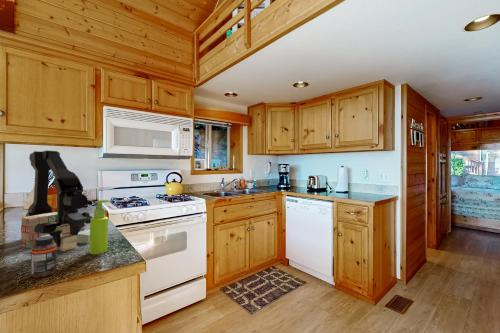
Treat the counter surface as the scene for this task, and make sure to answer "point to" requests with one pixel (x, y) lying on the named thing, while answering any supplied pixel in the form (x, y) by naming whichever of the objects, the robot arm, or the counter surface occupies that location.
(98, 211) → the soap dispenser
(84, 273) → the counter surface
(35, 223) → the stack of blocks
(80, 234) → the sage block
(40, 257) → the supplement bottle
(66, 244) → the maple cube
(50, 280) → the counter surface
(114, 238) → the counter surface
